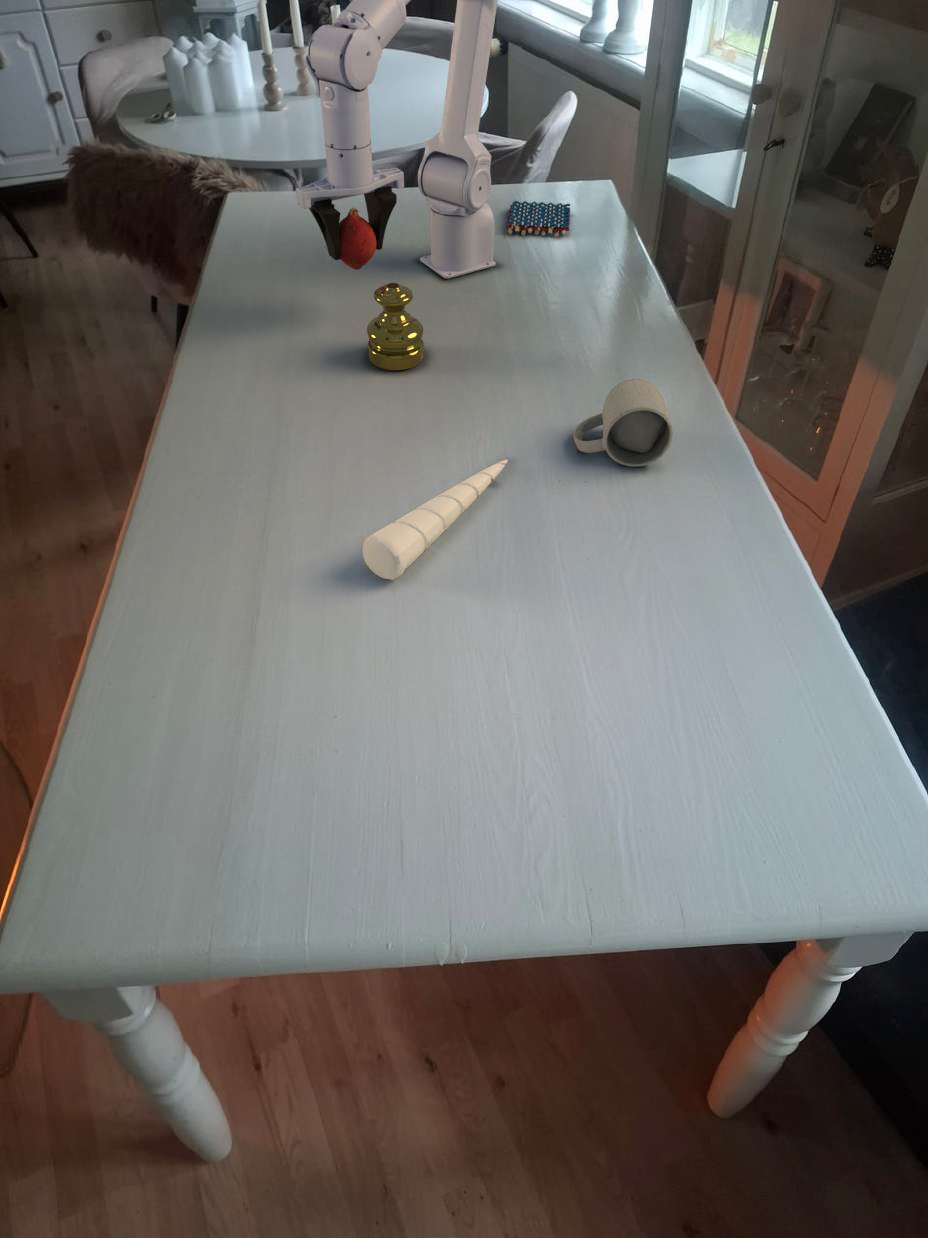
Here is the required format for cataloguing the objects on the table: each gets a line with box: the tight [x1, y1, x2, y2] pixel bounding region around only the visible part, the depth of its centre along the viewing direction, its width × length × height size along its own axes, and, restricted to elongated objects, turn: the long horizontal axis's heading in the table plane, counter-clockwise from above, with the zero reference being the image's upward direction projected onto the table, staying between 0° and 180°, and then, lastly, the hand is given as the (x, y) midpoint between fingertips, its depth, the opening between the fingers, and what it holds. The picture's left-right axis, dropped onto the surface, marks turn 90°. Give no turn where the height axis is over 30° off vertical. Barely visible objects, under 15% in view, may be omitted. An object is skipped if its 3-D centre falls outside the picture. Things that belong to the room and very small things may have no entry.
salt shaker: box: [366, 282, 424, 371], centre depth 112 cm, size 7×7×10 cm
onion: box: [339, 207, 377, 271], centre depth 115 cm, size 6×6×8 cm
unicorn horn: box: [362, 459, 509, 581], centre depth 91 cm, size 5×24×5 cm, turn 142°
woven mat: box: [506, 200, 571, 238], centre depth 147 cm, size 10×11×2 cm
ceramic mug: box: [573, 378, 674, 468], centre depth 100 cm, size 11×8×8 cm
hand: (356, 251), depth 117 cm, fingers closed on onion, 6 cm apart
